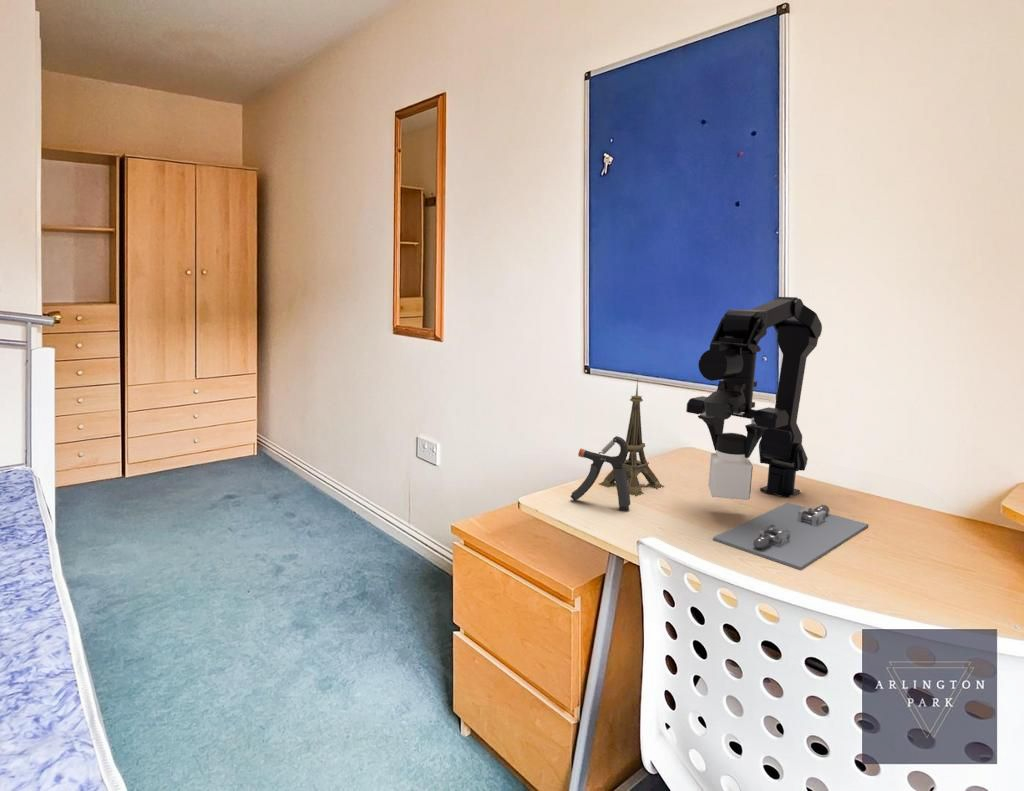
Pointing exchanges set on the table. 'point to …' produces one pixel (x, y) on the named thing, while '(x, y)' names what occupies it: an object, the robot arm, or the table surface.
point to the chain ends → (782, 537)
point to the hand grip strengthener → (617, 469)
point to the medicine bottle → (730, 468)
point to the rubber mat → (792, 535)
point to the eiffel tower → (634, 454)
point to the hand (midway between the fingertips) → (731, 454)
